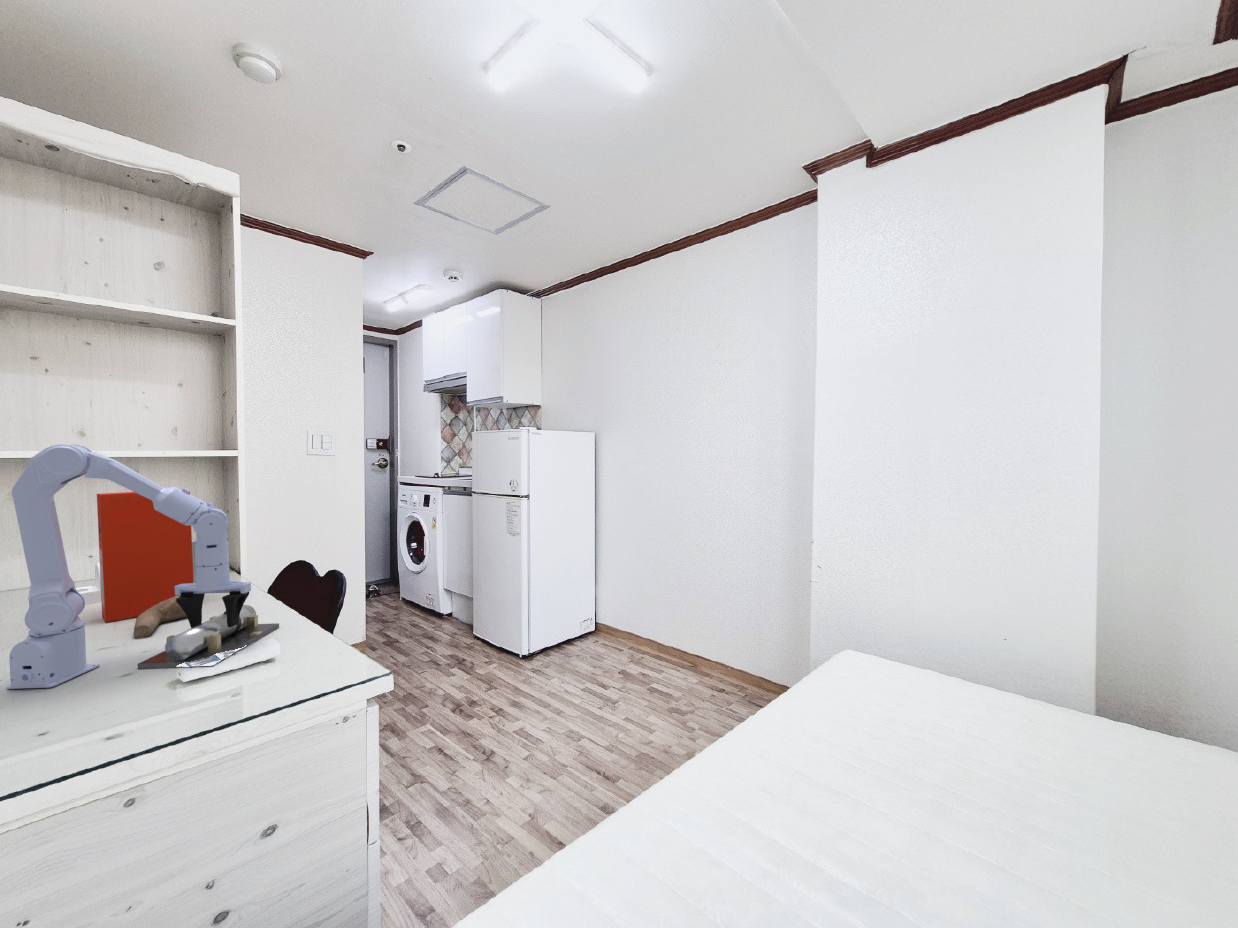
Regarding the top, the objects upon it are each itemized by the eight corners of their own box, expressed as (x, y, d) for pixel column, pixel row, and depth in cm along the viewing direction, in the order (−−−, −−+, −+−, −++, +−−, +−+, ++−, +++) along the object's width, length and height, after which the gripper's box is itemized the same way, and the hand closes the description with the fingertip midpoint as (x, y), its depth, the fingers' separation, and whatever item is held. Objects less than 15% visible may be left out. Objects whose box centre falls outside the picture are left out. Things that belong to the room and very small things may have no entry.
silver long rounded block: (192, 659, 102) (190, 632, 102) (165, 661, 102) (164, 633, 102) (256, 624, 122) (255, 602, 122) (235, 626, 122) (233, 603, 122)
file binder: (102, 616, 133) (96, 493, 132) (187, 601, 146) (183, 488, 145) (105, 623, 128) (100, 495, 127) (194, 606, 141) (190, 490, 140)
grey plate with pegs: (212, 666, 102) (211, 643, 101) (137, 668, 101) (136, 646, 101) (279, 627, 124) (278, 608, 123) (218, 629, 123) (217, 610, 123)
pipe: (124, 621, 115) (182, 605, 121) (134, 603, 128) (186, 589, 134) (132, 648, 116) (189, 631, 122) (141, 627, 129) (192, 613, 135)
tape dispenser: (151, 594, 154) (149, 558, 154) (63, 609, 140) (61, 570, 140) (145, 589, 160) (143, 554, 160) (60, 603, 146) (58, 565, 146)
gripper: (259, 559, 116) (260, 619, 116) (191, 560, 115) (193, 620, 116) (237, 566, 109) (239, 630, 109) (165, 567, 108) (168, 631, 108)
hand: (214, 626), depth 112 cm, fingers open, 7 cm apart
